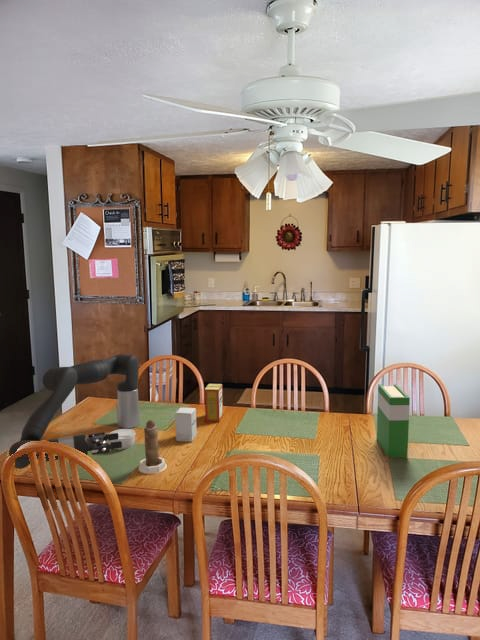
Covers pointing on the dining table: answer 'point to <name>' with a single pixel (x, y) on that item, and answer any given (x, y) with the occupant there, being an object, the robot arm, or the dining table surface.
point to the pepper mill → (151, 444)
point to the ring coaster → (152, 467)
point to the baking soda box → (213, 403)
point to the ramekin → (124, 438)
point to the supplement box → (185, 424)
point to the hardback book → (393, 420)
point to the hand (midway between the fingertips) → (119, 439)
